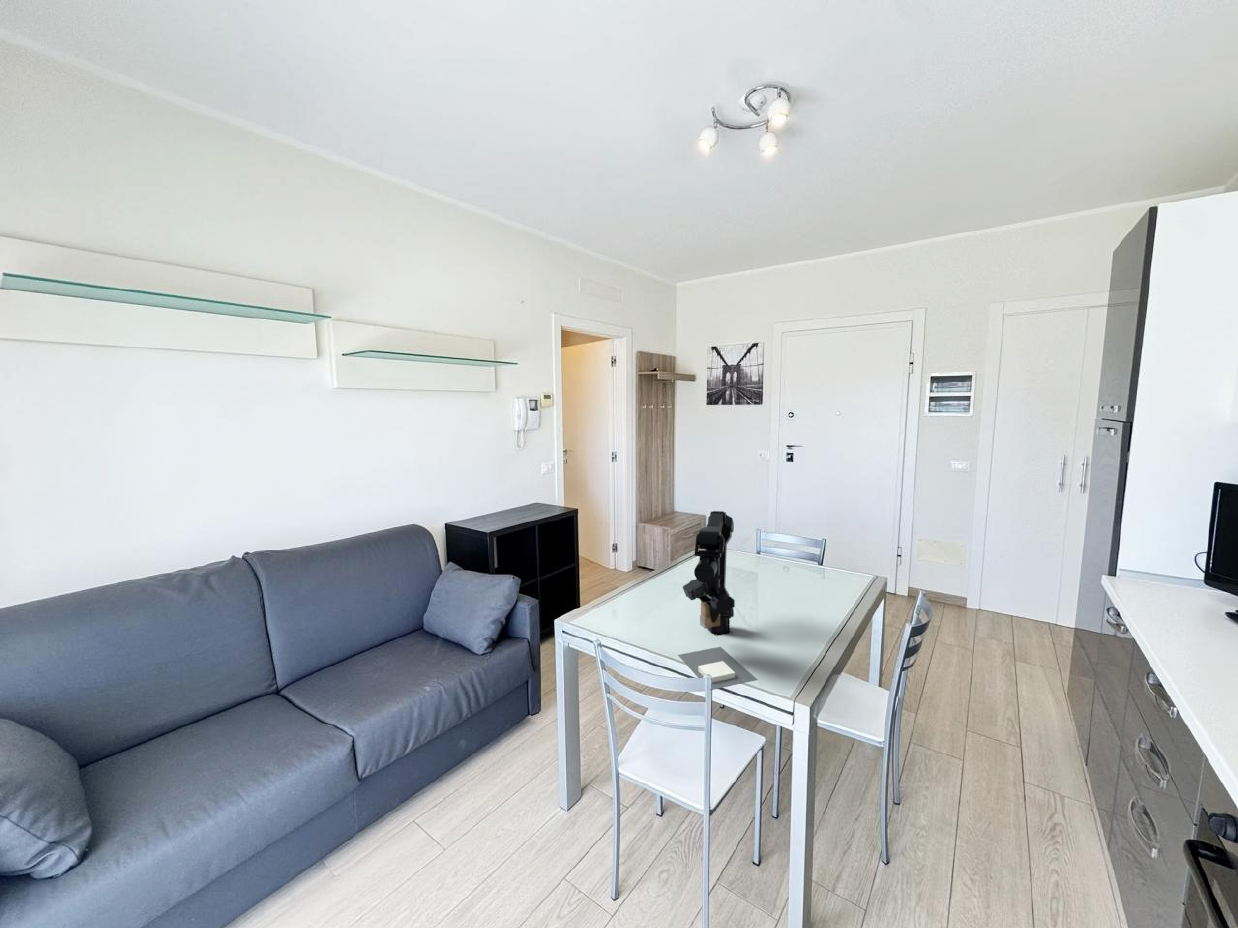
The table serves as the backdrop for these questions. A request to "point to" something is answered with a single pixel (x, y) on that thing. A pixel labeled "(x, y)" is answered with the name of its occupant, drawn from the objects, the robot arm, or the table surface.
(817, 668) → the table surface
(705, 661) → the mat
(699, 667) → the tile
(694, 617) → the table surface
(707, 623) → the block
